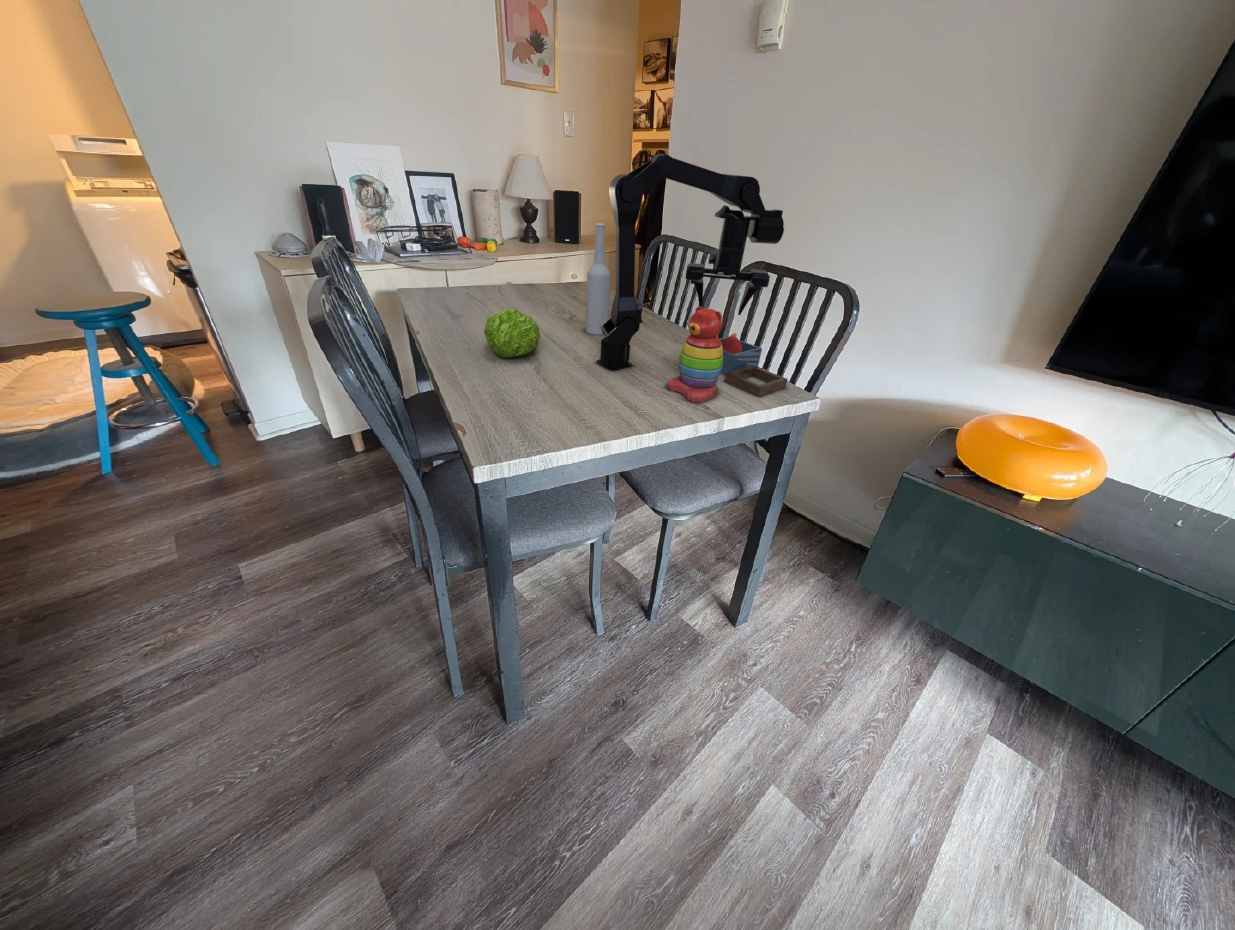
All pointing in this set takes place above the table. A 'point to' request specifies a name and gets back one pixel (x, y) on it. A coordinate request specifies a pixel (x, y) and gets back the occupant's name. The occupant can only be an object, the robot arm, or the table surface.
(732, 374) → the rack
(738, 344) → the red round fruit
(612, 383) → the table surface
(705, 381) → the stacking bear
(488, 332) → the lettuce
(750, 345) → the blue open box
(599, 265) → the bottle
